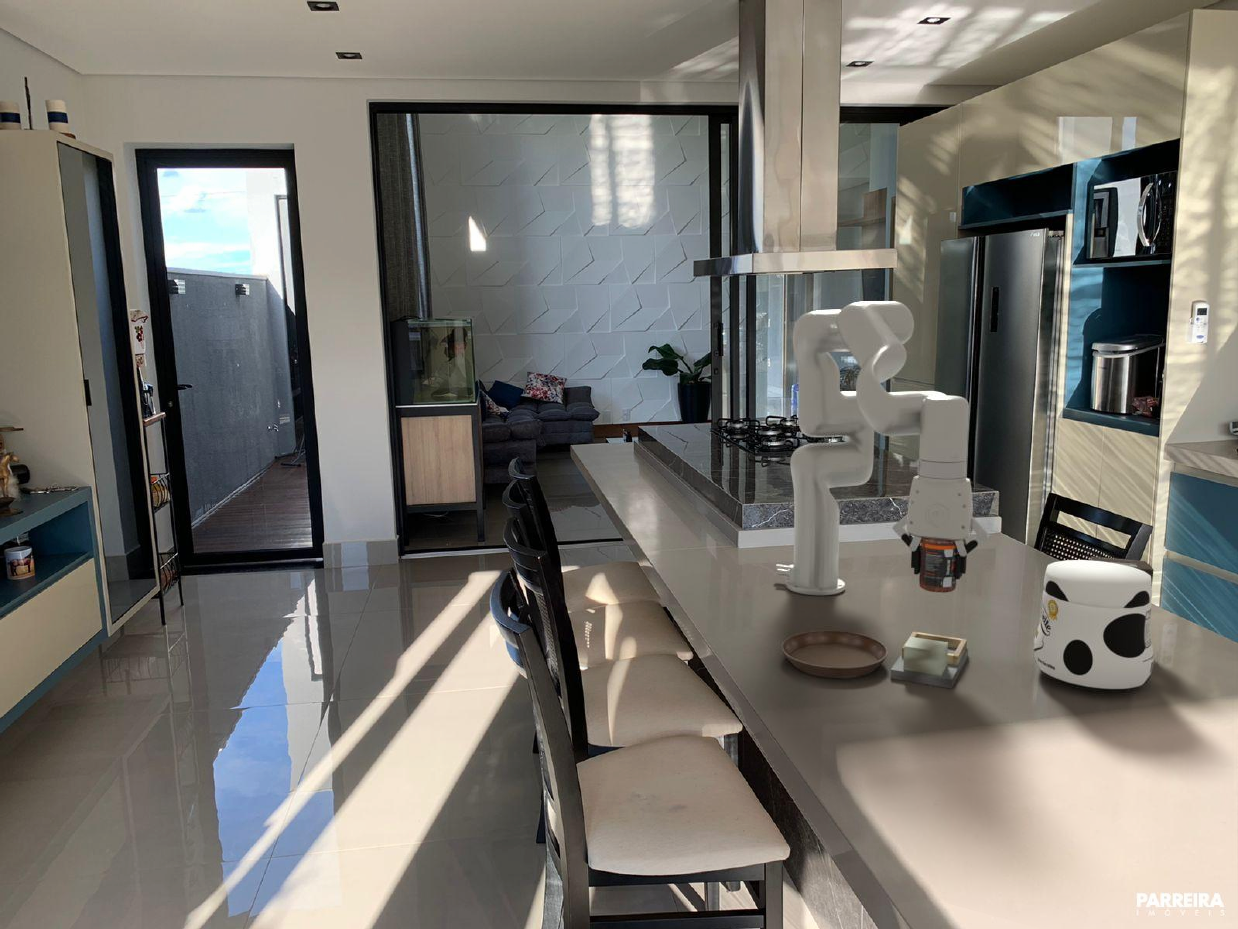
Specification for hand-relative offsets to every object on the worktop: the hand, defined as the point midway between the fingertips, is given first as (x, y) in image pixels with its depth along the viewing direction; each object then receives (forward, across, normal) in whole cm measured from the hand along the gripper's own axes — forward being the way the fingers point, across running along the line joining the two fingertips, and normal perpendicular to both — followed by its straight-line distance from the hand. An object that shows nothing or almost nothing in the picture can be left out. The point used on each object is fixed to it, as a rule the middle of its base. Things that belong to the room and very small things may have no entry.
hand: (938, 574), depth 160 cm
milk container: (+16, +24, +3) cm, 29 cm away
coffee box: (+16, +27, +19) cm, 36 cm away
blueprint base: (+15, 0, -3) cm, 16 cm away
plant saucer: (+16, -15, -8) cm, 23 cm away
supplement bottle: (+3, 0, 0) cm, 3 cm away
